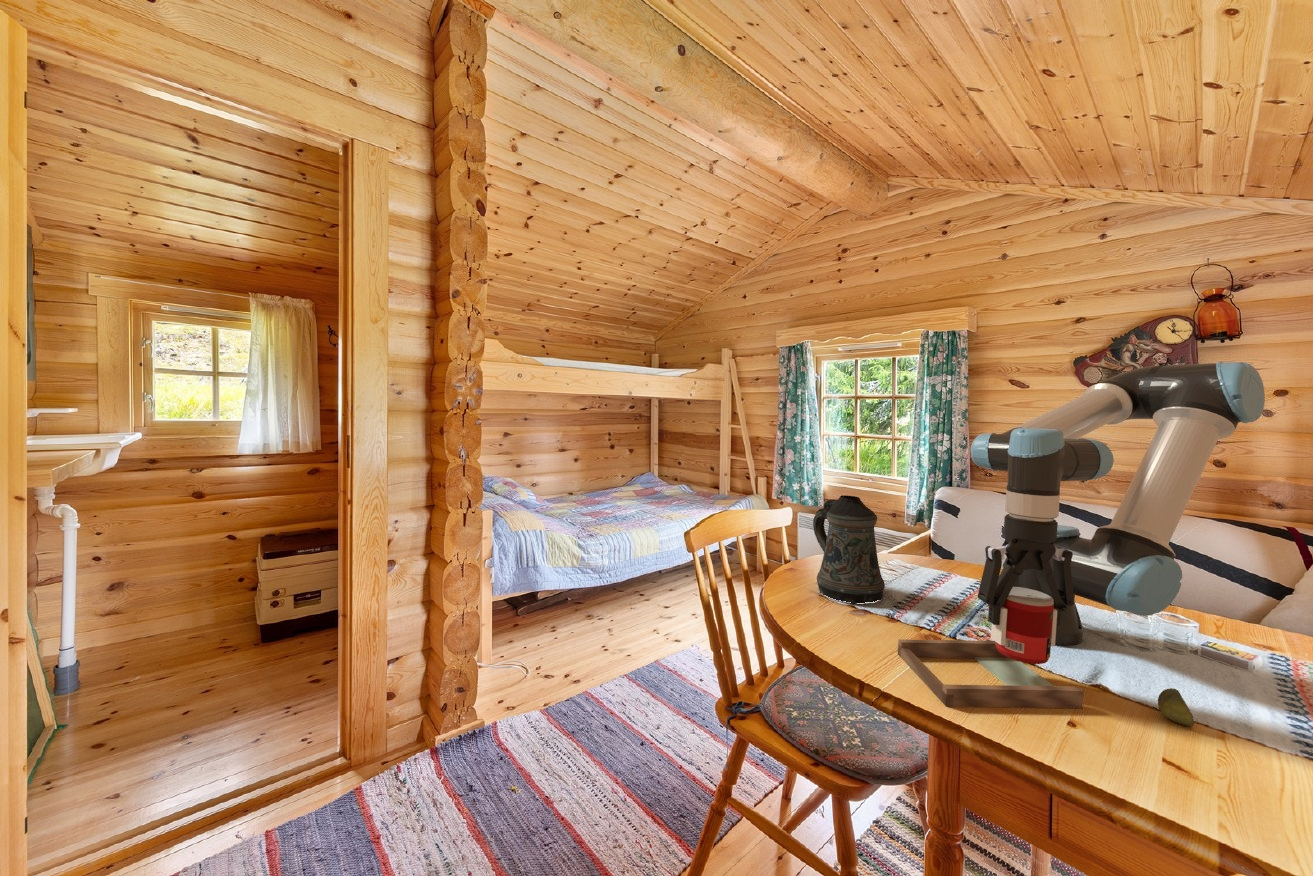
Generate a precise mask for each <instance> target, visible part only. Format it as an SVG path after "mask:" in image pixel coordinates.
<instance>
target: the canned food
mask: <svg viewBox="0 0 1313 876" xmlns="http://www.w3.org/2000/svg"><path fill="white" fill-rule="evenodd" d="M1003 607H1004V608H1006V609H1007V623H1006V639H1005V645H1000V644H998V643H997V642H996V641H995V645H996V648H997V650H998V651H999V652H1000V653H1001V654H1003V655H1004V656H1006V657H1009V658H1011V659H1014V660H1017V661H1020V662H1022V663H1023V664H1025V663H1026V664H1032V665H1043V664H1046V663H1047V662H1048V661H1049V659H1050V657H1051V649H1052V648H1051V647H1052V646H1051V638H1052V625H1053V612H1054V600H1053V598H1052V597H1051V596H1049V595H1047V594H1045V593H1042V592H1039V591H1036V590H1032V589H1027V588H1021V587H1013V588H1012V589H1011V591H1010V593H1009V595H1008V597H1007V599H1006V601H1005V603H1004V605H1003Z"/></svg>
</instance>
